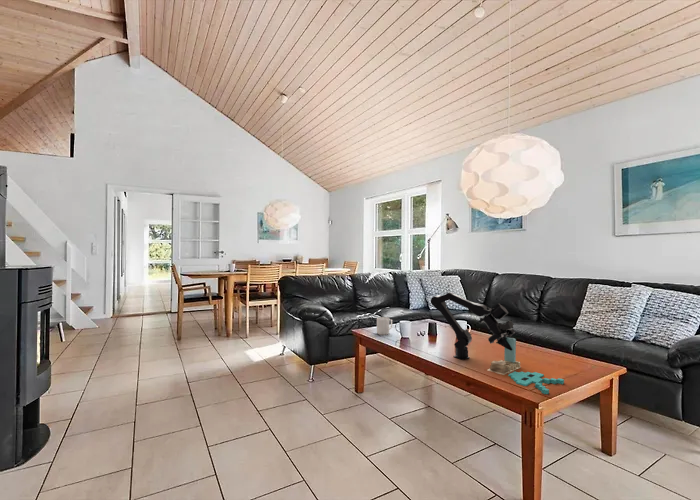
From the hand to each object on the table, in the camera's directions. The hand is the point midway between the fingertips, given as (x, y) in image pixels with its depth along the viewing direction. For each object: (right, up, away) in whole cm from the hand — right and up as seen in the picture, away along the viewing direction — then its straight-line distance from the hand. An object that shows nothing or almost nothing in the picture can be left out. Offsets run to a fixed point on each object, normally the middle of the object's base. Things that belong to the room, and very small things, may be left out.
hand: (512, 349), depth 191 cm
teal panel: (-1, -6, +1) cm, 6 cm away
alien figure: (+1, -11, -18) cm, 21 cm away
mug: (-59, -9, +74) cm, 95 cm away
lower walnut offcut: (-10, -9, -6) cm, 14 cm away
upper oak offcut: (-10, -7, -6) cm, 13 cm away
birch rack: (-5, -10, -3) cm, 12 cm away
